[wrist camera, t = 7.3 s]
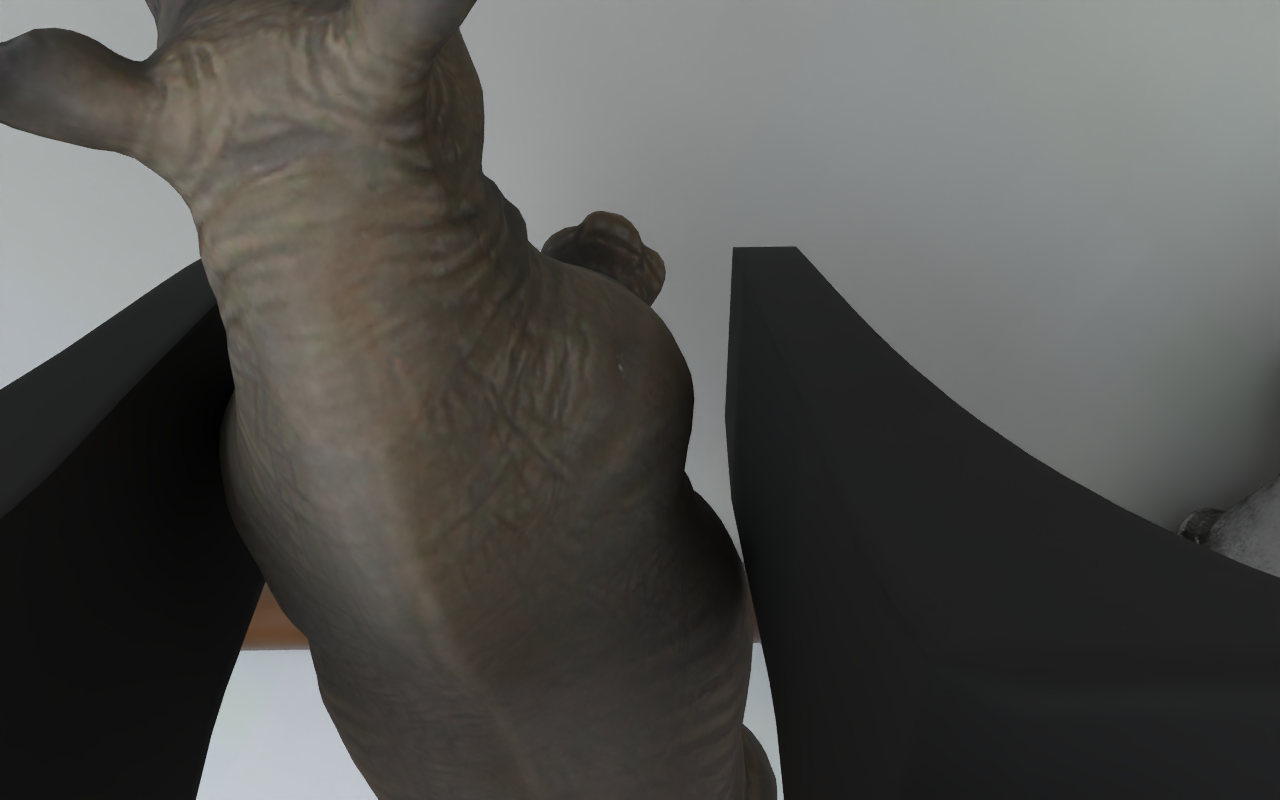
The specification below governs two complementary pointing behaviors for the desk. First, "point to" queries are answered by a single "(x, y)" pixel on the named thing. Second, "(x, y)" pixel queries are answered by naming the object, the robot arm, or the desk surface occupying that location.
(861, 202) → the desk surface
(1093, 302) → the desk surface
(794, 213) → the desk surface
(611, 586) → the rhino figurine
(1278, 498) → the grey weathered turned ornament
